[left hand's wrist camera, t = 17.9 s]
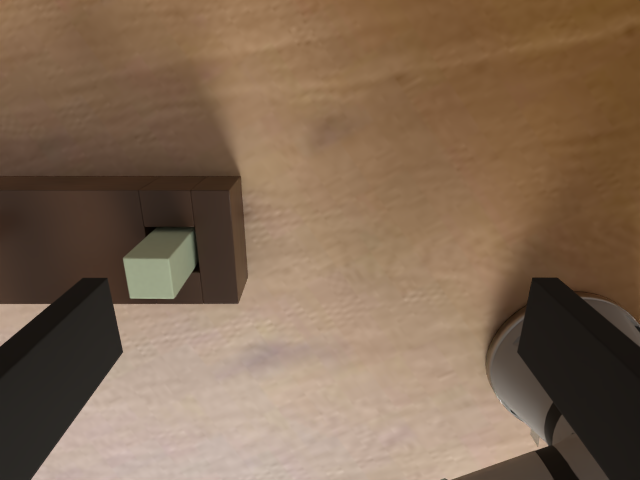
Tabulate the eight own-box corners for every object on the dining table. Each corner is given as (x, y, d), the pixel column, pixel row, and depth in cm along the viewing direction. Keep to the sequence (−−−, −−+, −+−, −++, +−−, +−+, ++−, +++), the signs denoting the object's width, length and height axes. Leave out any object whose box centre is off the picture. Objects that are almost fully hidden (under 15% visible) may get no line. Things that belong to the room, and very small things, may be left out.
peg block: (240, 176, 36) (205, 218, 25) (247, 278, 40) (219, 354, 29) (-55, 176, 36) (-220, 218, 25) (-21, 277, 40) (-153, 354, 29)
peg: (206, 214, 38) (168, 258, 28) (209, 246, 39) (174, 299, 30) (171, 213, 38) (122, 257, 28) (175, 246, 39) (129, 298, 30)
